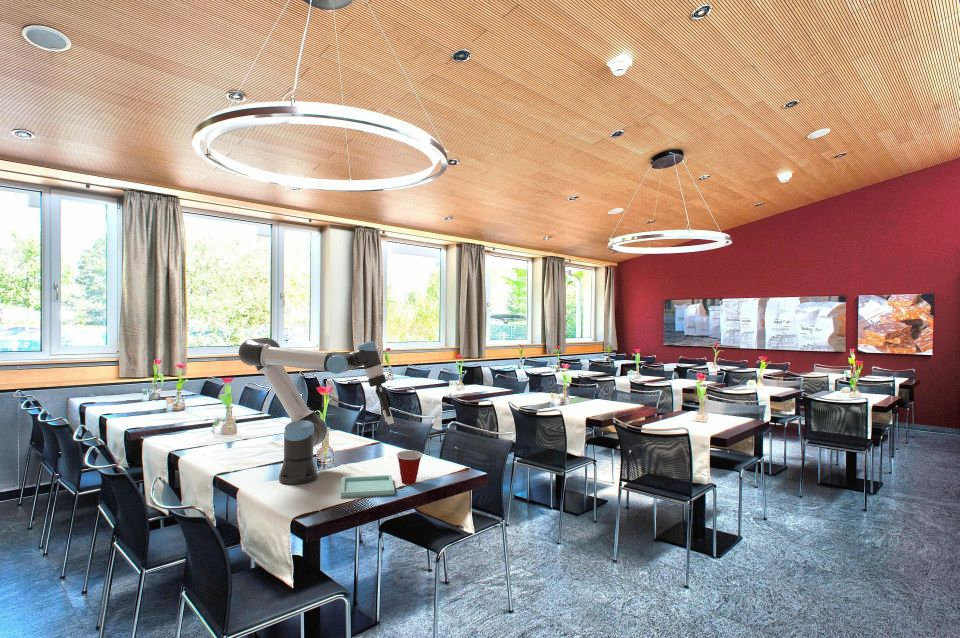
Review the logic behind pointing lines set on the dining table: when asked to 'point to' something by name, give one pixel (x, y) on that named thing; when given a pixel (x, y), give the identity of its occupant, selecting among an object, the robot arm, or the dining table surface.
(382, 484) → the tray
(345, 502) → the dining table surface
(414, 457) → the plastic cup
